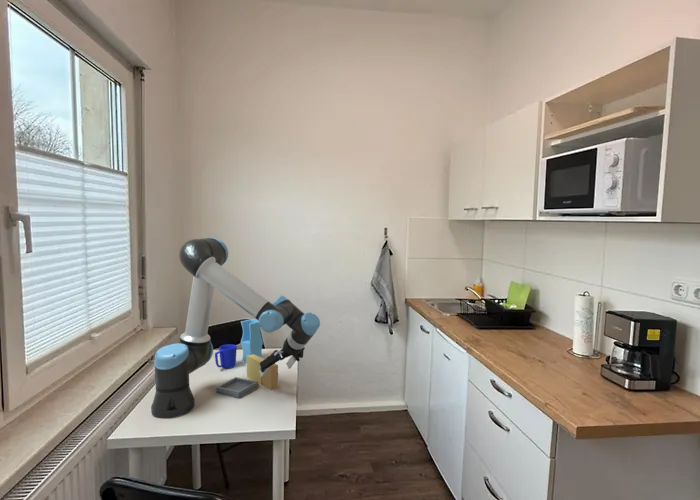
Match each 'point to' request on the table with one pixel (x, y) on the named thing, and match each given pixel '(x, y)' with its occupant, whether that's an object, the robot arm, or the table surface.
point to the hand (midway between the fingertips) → (274, 369)
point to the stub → (271, 378)
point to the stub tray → (237, 387)
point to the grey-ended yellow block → (254, 368)
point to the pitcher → (251, 338)
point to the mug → (226, 356)
